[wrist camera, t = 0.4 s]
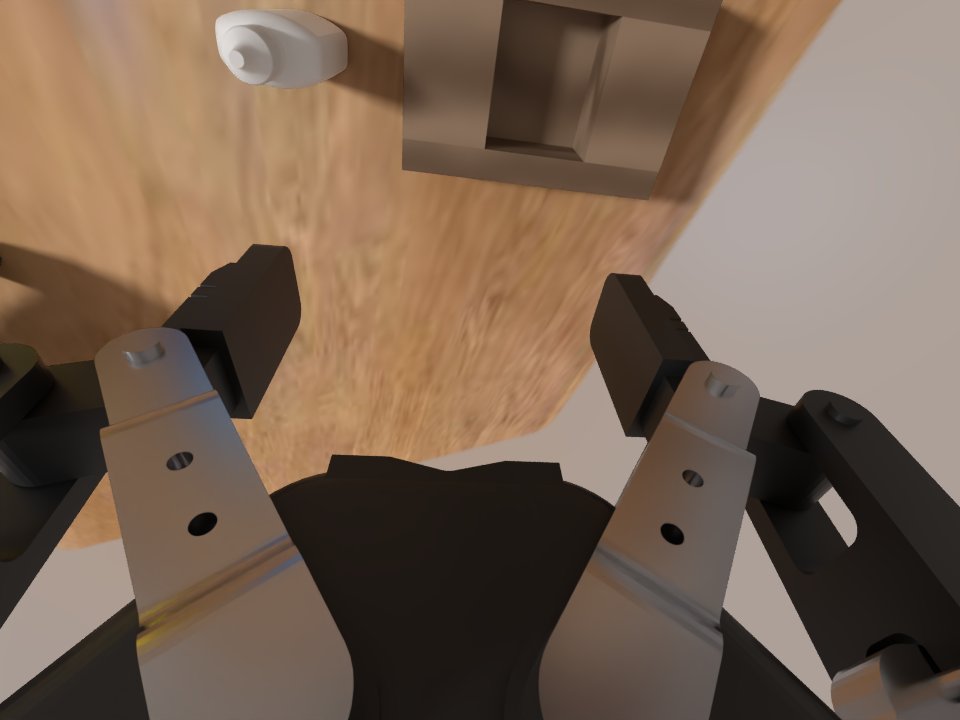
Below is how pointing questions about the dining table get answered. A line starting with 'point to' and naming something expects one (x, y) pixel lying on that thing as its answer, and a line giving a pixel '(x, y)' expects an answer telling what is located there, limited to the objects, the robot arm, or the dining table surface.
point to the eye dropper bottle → (281, 47)
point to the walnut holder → (549, 89)
